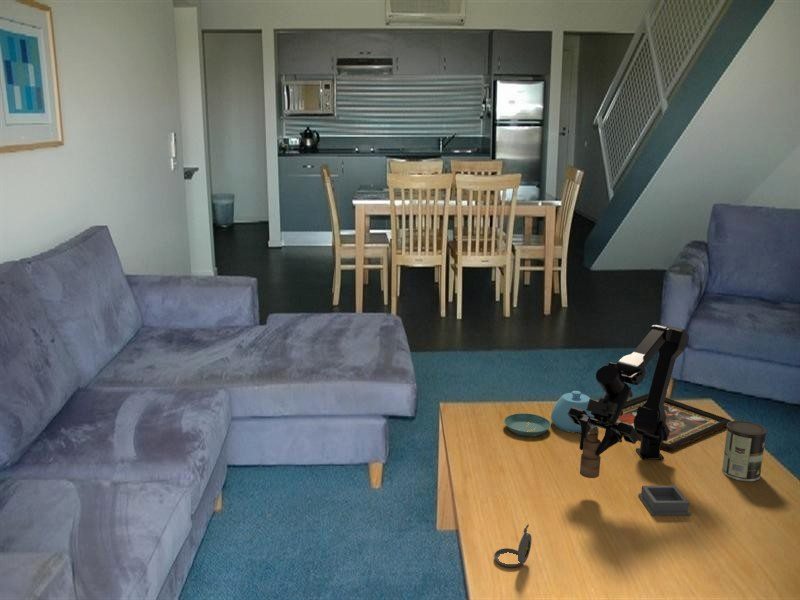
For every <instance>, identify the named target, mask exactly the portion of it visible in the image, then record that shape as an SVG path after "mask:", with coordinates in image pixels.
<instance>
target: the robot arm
mask: <svg viewBox="0 0 800 600" xmlns="http://www.w3.org/2000/svg"><path fill="white" fill-rule="evenodd" d="M689 340H690V335H689V334H688V333H687V329H684V328H680V327H676V326H671V325H666V324H665V325H661V324H653V325H651V327H650V329H649V332H648V334H647V335H646V336H645V337H644V338H643V339H642V341H641V342H640V343H639V344H638V346H637V347H635V349H634V351H632V353H630V354H627V355H623V356H622V357H621V358H620V359H619V360H618V361H617V362H616V363H615V362H611V361H610V362H608V364H607V365H603V366H601V367H600V368H599V369H597V370H596V372H595V379H596V381H597V382H598V384H599V386H600V387H601V388H602V390H603V392H605V395H604V397H603V398H602V397H600V398H599V399H598V400H594V399H592V398H590V399H589V402H588V406H587V409H586V410H587V411H591V414H592V415H594V418H593V417H590V416H588V415H587V413H586V412H585V410H582V409H579V408H576V407H572V408H571V409H570V410H569V412H568V416H569V417H570V418H571V420H572V421H573V423H575V424H577V425H580V426H581V433H580V442H579V450H580V451H583V441H584V438H587V433H588V432H589V430H590V429H591V427H592V425H595V426H596V427H598V428H601V429H604V430H605V431H604V436H603V438H602V440H600V441H601V443H600V445H599V447H598V449H597V451H596V454H595V455H596V456H599V455H601V454H603V453H604V452H605V451H607V450H609V449H610V448H611V447H613V446H615V445H616V444H618V443H622V442H623V440H624V441H625V442H626V443H627V442H628V443H630V444H634V445H636V443H637V441H638V434H640V435H641V441H640V445H639V446H640V447H636V448H635V451H636V453H637V454H638V455H639V457H640V458H641V459H642V460H664V459H665V456H663V454H662V453H661V449H660V447H661V442H662V441H667V439H668V437H669V433H670V430H669V428H668V427H667V425H666V423H665V422H666V413H665V410H664V407H663V406H664V401H665V398H667V394H668V389H669V387H670V386H669V385H670V383H671V380H672V379H671V378H672V375H673V372H674V366H675V363H676V359H677V358H678V357H679V356H681V354H682V353H684V352H685V349H686V346H687V345H688V343H689ZM657 353H658V356H657V360H656V364H655V368H654V372H653V376H652V380H651V384H650V387H649V392H648V393H649V394H648V393H647V394H648V398H647V401H646V403H645V404H644V405H642V406H639V407H638V409H637V414H636V416H635V418H634V427H633V426H632V425H628V424H625V423H622V422H620V423H618V425H616V422H617V420H618V418H619V416H622V415H623V412H622V410H623V408H624V406H625V404H626V401H628V400H629V398H633V391H632V387H631V386H629V385H628V384H631V385H633V386H638V385H639V384H641V383H642V382H643V380H644V379H645V376H646V374H647V371H646V370H647V369H646V367H647V366H648V364H649V363H650V362H651V360H652V359H654V356H655V355H656V354H657ZM622 439H623V440H622Z"/></svg>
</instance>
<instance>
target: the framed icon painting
mask: <svg viewBox="0 0 800 600" xmlns="http://www.w3.org/2000/svg"><path fill="white" fill-rule="evenodd" d="M648 394H649V392H648V393H645V394H642V395H639V396H636V397H634V398H633V397H632V398H630V399H627V401H626V404H625V406H624V408H623V410H622V412H623V415H622V416H619V418H618V420H617V422H616V425H618V423H620V422H622V423H625V424H628V425H632V426H633V427H634V418H635V416H636V414H637V409H638V407H639V406H642V405H644V404H645V403H646V401H647V398H648ZM663 407H664V410H665V413H666V422H665V423H666V425H667V427H668V428H669V430H670V433H669V437H668V439H667V441H662V442H661V447H660V450H663V451H665V452H668V453H670V452H673V451H675V450H677V449H680V448H682V447H684V446H687V445H689V444H691V443H694V442H696V441H698V440H700V439H702V438H704V437H706V436H709V435H711V434H714V433H715V431H716V432H718V431H721V430H723V429H725V428H727V423H728V422H731V421H732V420H731V419H729V418H726V417H724V416H720V415H718V414H714V413H711V412H709V411H705V410H703V409H700V408H697V407H693V406H691V405H688V404H686V403H683V402H680V401H676V400H675V399H671V398H668V397H666V398H665V401H664V406H663ZM724 427H725V428H724ZM720 429H721V430H720ZM637 441H640V442H641V435H640V434H638V439H637Z"/></svg>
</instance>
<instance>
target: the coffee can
mask: <svg viewBox="0 0 800 600" xmlns="http://www.w3.org/2000/svg"><path fill="white" fill-rule="evenodd" d="M767 433H768V430H767V428H766V427H764V426H763V425H761V424H759V423H756V422H752V421H750V420H749V421H748V420H731V422H728V423H727V427H726V434H725V443H724V449H723V450H724V451H723V459H722V465H721V466H722V467H721V472H722V473H723V474H724V475H725V477H728V478H730V479H733V480H737V481H740V482H756V481H758V480H760V479H761V476H762V475H761V474H762V473H761V472H762V466H763V460H764V459H763V458H764V457H763V456H764V451H765V446H766V445H765V444H766V436H767Z"/></svg>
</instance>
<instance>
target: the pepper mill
mask: <svg viewBox="0 0 800 600" xmlns="http://www.w3.org/2000/svg"><path fill="white" fill-rule="evenodd" d="M601 441H602V440H600V439H599V433H598V432H597V429H596V427H595V428H591V429H590V430H589V432H588V433H587V438H584V441H583V450H582V453H581V455H580V466H579V467H580V468H579V474H580V475H581V476H582V477H584V478H587V479H596V478H598V477H599V476H600V469H601V467H600V466H601V459H602V458H601V456H600V455H601V454H600V455H599V456H596V455H595V454H596V451H597V449H598V447H599V445H600V443H601Z"/></svg>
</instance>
